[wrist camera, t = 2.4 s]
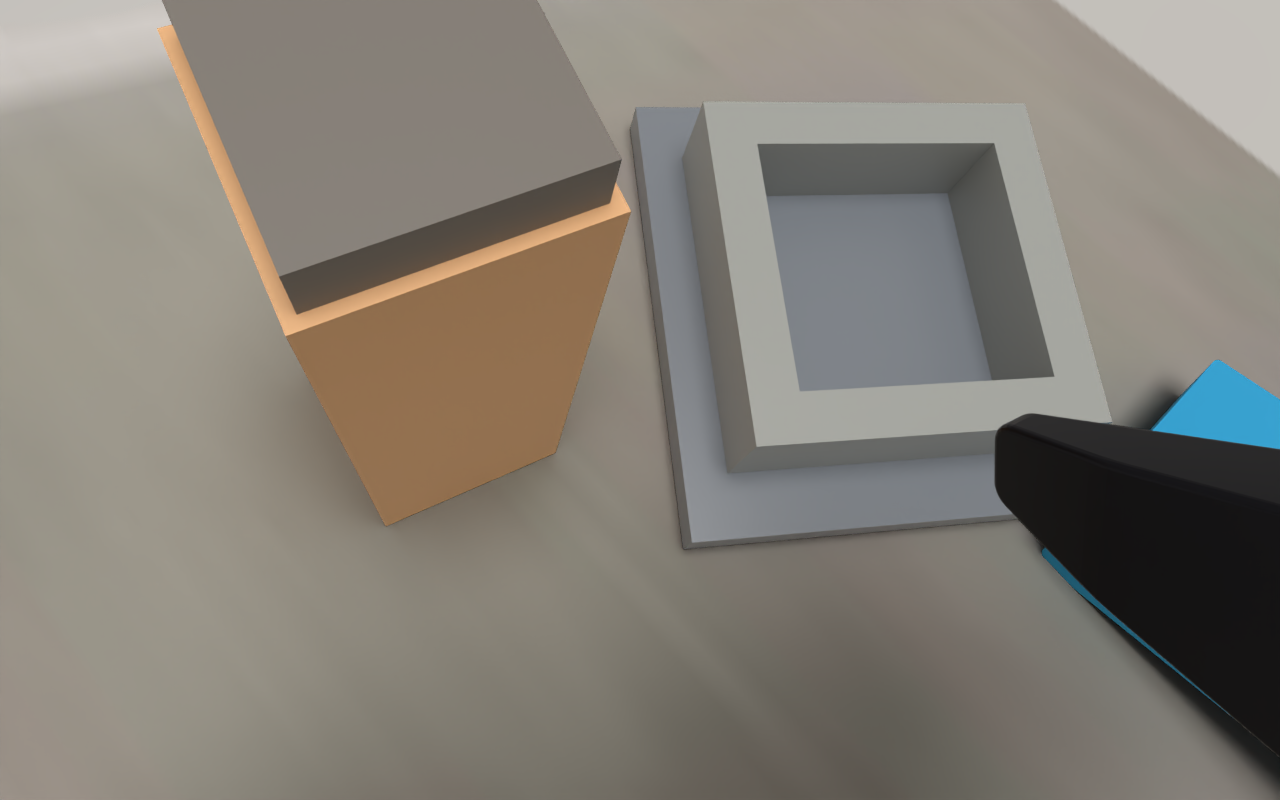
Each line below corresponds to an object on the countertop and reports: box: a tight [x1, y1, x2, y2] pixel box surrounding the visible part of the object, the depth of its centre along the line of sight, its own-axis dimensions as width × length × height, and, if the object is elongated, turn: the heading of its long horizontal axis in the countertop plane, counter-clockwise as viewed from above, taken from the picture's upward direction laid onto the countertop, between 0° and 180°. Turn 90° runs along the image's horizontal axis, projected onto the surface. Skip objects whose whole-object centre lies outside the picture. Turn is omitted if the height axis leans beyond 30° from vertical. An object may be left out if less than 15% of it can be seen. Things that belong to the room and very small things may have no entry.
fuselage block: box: [157, 0, 631, 526], centre depth 17 cm, size 4×4×13 cm
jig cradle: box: [630, 102, 1112, 549], centre depth 24 cm, size 12×11×4 cm
